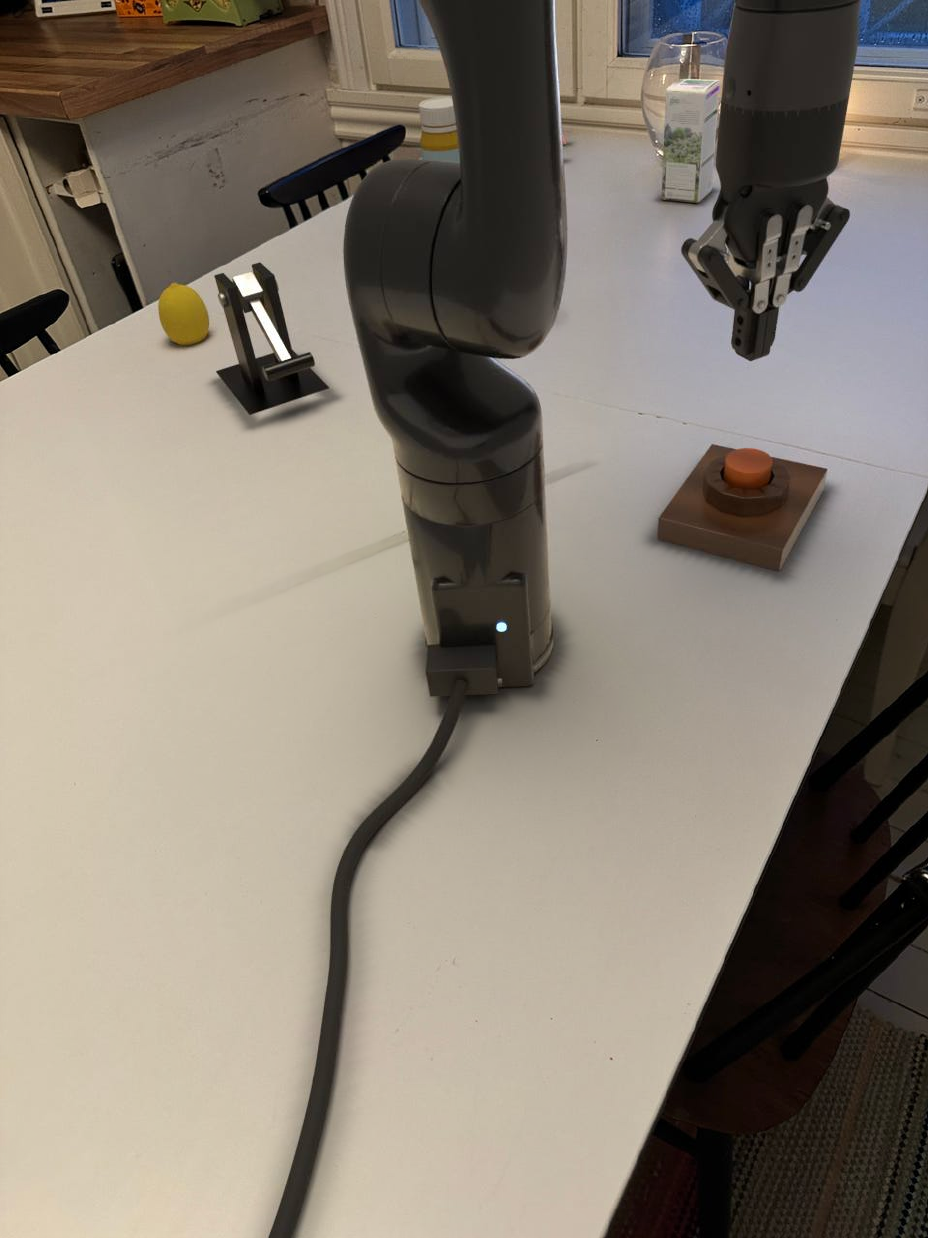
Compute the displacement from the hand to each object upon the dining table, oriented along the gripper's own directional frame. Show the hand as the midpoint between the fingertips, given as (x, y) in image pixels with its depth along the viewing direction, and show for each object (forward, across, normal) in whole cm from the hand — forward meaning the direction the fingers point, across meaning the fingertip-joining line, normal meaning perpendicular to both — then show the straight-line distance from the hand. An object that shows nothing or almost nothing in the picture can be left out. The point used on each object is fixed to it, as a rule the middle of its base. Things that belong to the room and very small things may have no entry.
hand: (751, 354), depth 68 cm
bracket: (+14, -25, +46) cm, 54 cm away
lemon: (+14, -30, +62) cm, 70 cm away
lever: (+7, -25, +42) cm, 50 cm away
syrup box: (+13, +44, +63) cm, 78 cm away
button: (+11, +1, -1) cm, 11 cm away
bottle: (+13, +15, +81) cm, 83 cm away
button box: (+14, +1, 0) cm, 14 cm away
